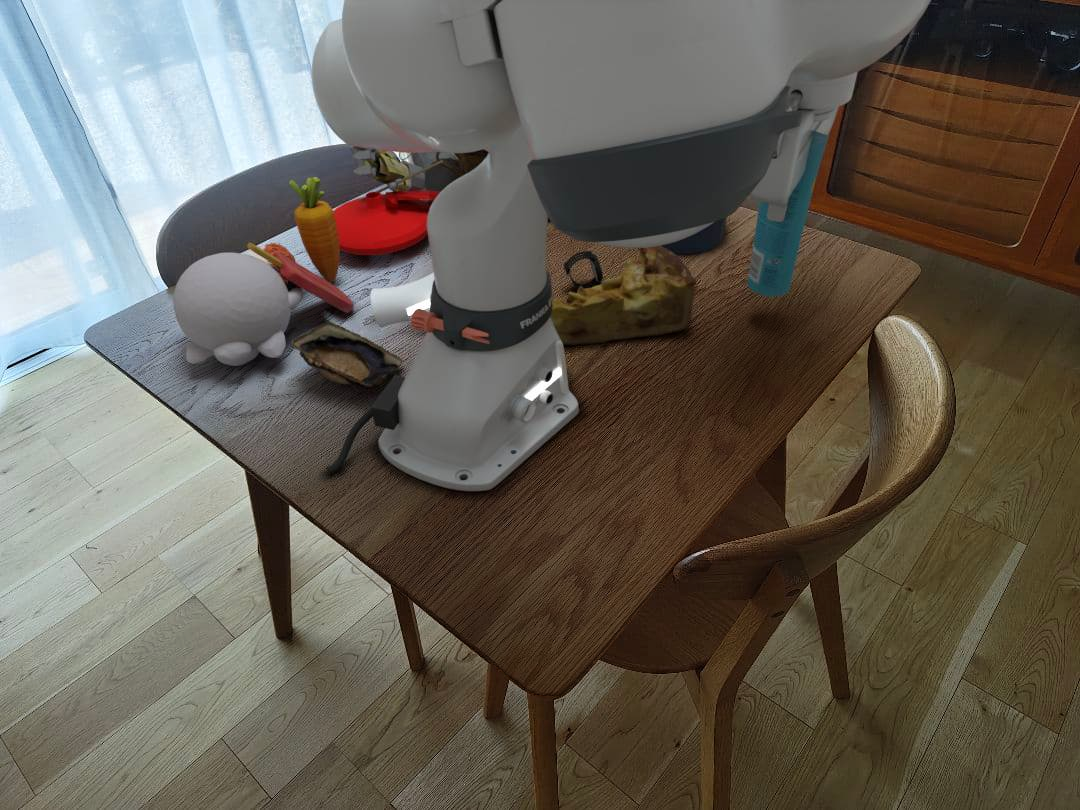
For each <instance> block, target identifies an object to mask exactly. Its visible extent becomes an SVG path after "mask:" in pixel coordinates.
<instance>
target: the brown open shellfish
mask: <svg viewBox="0 0 1080 810" xmlns="http://www.w3.org/2000/svg"><path fill="white" fill-rule="evenodd" d="M291 346H292V348H293V349H296V350H297V351H298V352H299V355H300V357H301V358H302V359H303V360H304V362H305V363H306V364H307V365H308V366H309V367H312V368H315V369H316V371H318V372H319V373H320V374H321V375H323V377H325V378H326V379H327V380H330V381H331V382H334V383H337V384H342V385H350V386H351V387H352V388H353V389H354V390H356V391H357V392H364V391H365V392H368V391H371V390H373V389H375V388H376V387H377V386H379V385H380V384H381V383H383V382H384V380H385V379H386V378H390V375H391V374H392V372H393V371H394V370H396V369H399V367H400V366H402V364H403V362H404V359H402V358H401V357H399V356H398V355H397V354H394V353H392V352H390V351H389V350H387V349H385V348H384V346H383V345H379V344H378V343H375V342H374V341H372V340H370V339H368V338H367V337H364V336H362V335H361V334H358V333H356V332H353V330H349V329H347V328H346V327H344V326H340V325H339V324H336V323H335V322H334V323H333V322H331V321H330V320H328V321H325V322H324V323H322V324H321V325H318V326H316V327H314V328H312V329H311V330H310V331H308V332H306V333H304V334H302V335H300V336H298V337H297V338H296V339H295V338H293V339H292V340H291ZM362 385H363V386H362Z"/></svg>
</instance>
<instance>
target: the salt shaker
mask: <svg viewBox="0 0 1080 810" xmlns="http://www.w3.org/2000/svg"><path fill="white" fill-rule="evenodd" d="M434 279H435V278H434V271H433V272H432V273H430V274H428V275H425V276H424V277H422V278H420V279H417V280H414V281H412V282H407V283H405V284H402V285H401V284H400V285H397V286H391V287H381V288H372V289H371V291H370V306H371V311H372V314H373V318H374V320H375V322H376V324H377V326H378V327H379V328H384V327H387V326H390V325H395V324H399V323H404V322H412V321H411V318H412V315H408V313H407V308H409V307H412V306H414V305H417V304H419V303H422V302H424V301H427V300H429V299H430V295H431V292H432V285H433V281H434ZM424 310H425V311H427V312H429V311H430V307H429V308H426V309H424Z"/></svg>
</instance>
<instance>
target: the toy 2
mask: <svg viewBox="0 0 1080 810" xmlns="http://www.w3.org/2000/svg"><path fill="white" fill-rule="evenodd" d="M349 149H350V151H351V154H352V158H353V160H354V163H355V165H356V168H355V169H353V170H352V173H354V174H356V175H359V176H365V175H366V176H367V177H368V178H370V177H372V178H373V179H374V180H375V181H377V182H380V183H382V184H385V185H387V186H385V187H382V188H380V189H377V190H375V192H380V193H382V192H385V191H386V190H388V189H389V190H390V192H396V191H424V188H425V186H424V182H425V175H424V171H426V170H428V169H430V168H433V167H435V166H437V165H439V164H441V163H443V160H441V161H439V162H437V163H434V164H432V165H430V166H428V167H426V168H424V169H423V168H422V167H419V166H417V165H414V163H413V162H412V163H411V162H409V161H406V160H401V161H400V162H399V161H398V159H397V155H396V154H395V153H394V152H393V151H384V150H377V149H370V148H363V147H357V146H351V145H350V147H349ZM363 197H364V198H362V197H360V198H361V199H359V200H357V201H362V200H365V199H366V196H363Z"/></svg>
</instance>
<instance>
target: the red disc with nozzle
mask: <svg viewBox="0 0 1080 810" xmlns="http://www.w3.org/2000/svg"><path fill="white" fill-rule="evenodd" d="M364 197H366V199H365V200H362V201H357V200H359V199H361V198H364ZM333 212H334V216H335V221H336V225H337V231H338V237H339V247H340V252H345V253H348V254H351V255H359V256H380V255H388V254H392V253H396V252H399V251H401V250H405V249H407V248H409V247H412V246H414V245H416V244H417V243H419V242H420V241H422V240H424V239H425V238H426V236H428V231H427V216H428V212H429V210H424V209H418V208H412V207H406V206H401V205H398V207H397V208H392V207H389V206H388V205H386V201H385V193H382V192H376V191H370V192H367V193H366V194H365V196H363V197H358V198H355V199H353V200H349V201H347V202H345V203H343V204H342V205H341V204H340V205H339V206H338V207H336V208H335V209H334V210H333Z"/></svg>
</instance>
